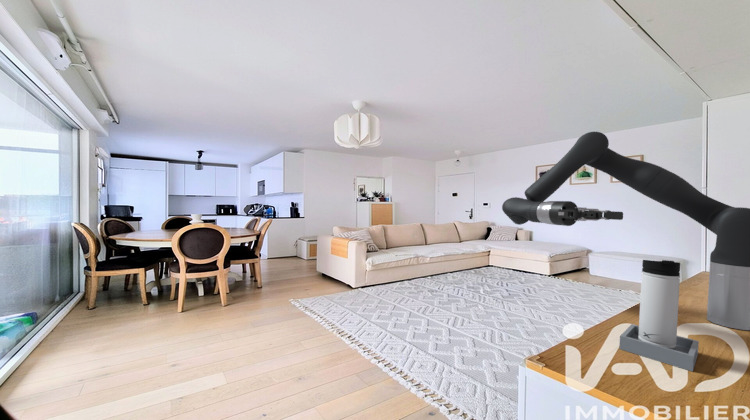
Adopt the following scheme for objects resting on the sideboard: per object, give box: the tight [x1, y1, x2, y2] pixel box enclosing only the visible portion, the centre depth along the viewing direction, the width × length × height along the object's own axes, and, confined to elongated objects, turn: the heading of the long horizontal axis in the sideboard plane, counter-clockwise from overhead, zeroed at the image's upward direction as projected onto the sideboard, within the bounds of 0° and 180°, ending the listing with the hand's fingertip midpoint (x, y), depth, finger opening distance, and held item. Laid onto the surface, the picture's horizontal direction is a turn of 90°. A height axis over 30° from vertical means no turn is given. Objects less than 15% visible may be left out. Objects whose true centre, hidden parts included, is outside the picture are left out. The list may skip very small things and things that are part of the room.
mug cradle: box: [619, 323, 699, 373], centre depth 69 cm, size 12×12×3 cm
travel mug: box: [638, 259, 681, 350], centre depth 69 cm, size 6×7×20 cm
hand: (611, 215), depth 81 cm, fingers open, 8 cm apart
